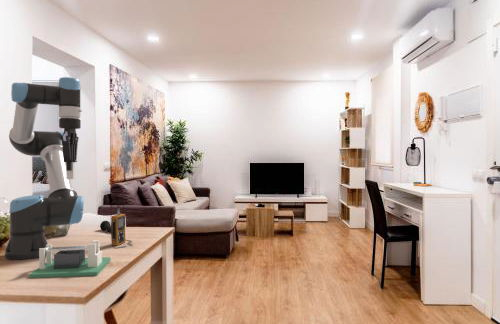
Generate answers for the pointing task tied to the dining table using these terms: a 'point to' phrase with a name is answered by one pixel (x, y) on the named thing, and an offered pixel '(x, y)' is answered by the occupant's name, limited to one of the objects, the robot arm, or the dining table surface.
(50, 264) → the circuit board
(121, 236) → the multimeter
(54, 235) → the ceramic sculpture
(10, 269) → the dining table surface
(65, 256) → the heat sink
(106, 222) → the microphone
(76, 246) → the clamp bar
